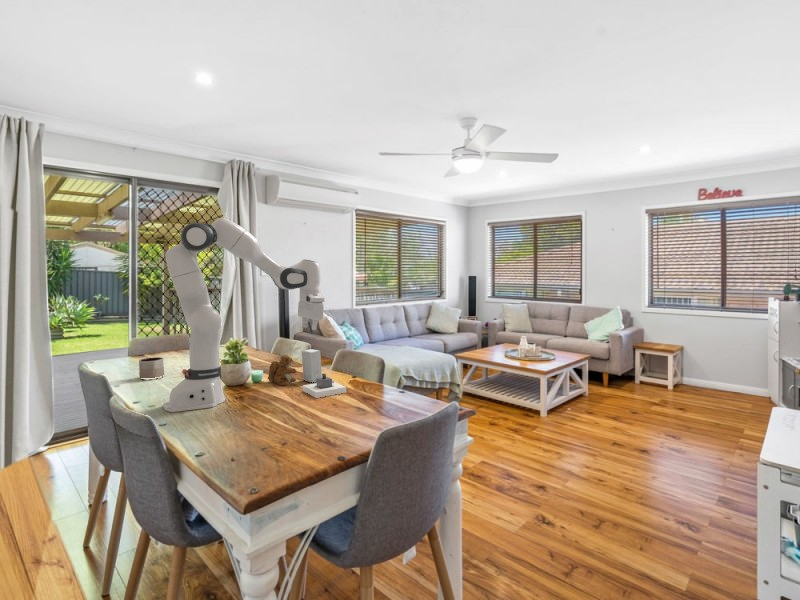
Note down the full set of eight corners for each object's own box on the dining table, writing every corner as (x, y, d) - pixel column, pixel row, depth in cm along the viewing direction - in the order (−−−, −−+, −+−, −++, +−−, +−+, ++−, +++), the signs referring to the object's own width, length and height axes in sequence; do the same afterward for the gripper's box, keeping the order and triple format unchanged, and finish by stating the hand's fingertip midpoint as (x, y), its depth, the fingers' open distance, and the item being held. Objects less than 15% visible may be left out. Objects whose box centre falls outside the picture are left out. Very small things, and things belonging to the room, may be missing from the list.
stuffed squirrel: (288, 386, 204) (287, 357, 203) (262, 384, 208) (261, 356, 207) (299, 381, 214) (298, 353, 213) (274, 379, 218) (273, 352, 217)
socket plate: (316, 398, 183) (316, 390, 183) (302, 391, 195) (302, 383, 195) (346, 392, 191) (346, 385, 191) (331, 386, 203) (331, 379, 203)
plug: (321, 394, 190) (321, 375, 189) (316, 391, 194) (316, 373, 193) (332, 392, 192) (331, 374, 192) (327, 390, 196) (326, 372, 196)
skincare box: (322, 381, 212) (321, 350, 211) (311, 383, 208) (310, 352, 207) (312, 378, 218) (312, 348, 217) (302, 380, 214) (301, 349, 213)
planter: (134, 380, 219) (133, 360, 219) (152, 375, 230) (151, 356, 229) (151, 381, 216) (150, 361, 215) (169, 376, 226) (168, 357, 226)
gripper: (294, 296, 201) (294, 326, 201) (312, 298, 184) (312, 331, 185) (307, 296, 204) (307, 326, 205) (326, 298, 187) (326, 330, 188)
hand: (309, 328), depth 195 cm, fingers open, 8 cm apart
